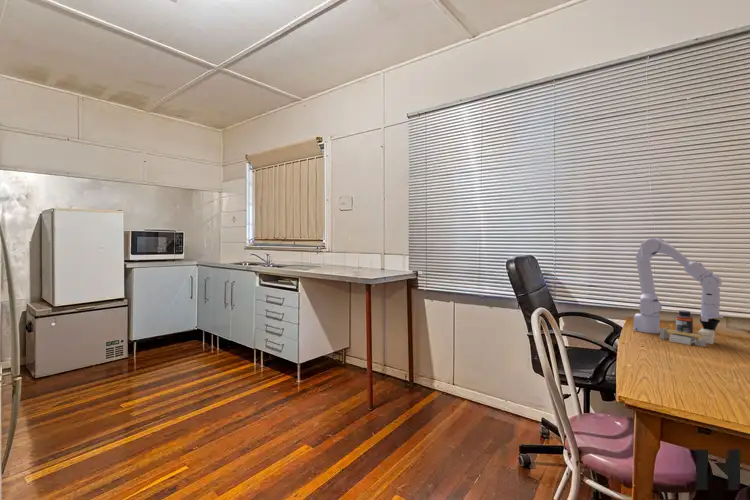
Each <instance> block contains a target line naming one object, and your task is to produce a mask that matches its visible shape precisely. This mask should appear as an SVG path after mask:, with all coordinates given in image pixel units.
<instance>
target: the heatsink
mask: <svg viewBox="0 0 750 500" xmlns="http://www.w3.org/2000/svg"><path fill="white" fill-rule="evenodd" d="M696 338H697V337H692V336H686V335H680V334H674V333H669V337H668V339H669V342H671V343H676V344H682V345H687V346H691V345H695V340H697V339H696Z"/></svg>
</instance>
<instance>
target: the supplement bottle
mask: <svg viewBox="0 0 750 500" xmlns="http://www.w3.org/2000/svg"><path fill="white" fill-rule="evenodd" d="M675 331H681V332H687V333H693V331H694V318H693V316H692V315H691V311H689V310H683V309H681V310H680V309H679V311H678V314H677V315H676V317H675ZM693 334H694V333H693Z"/></svg>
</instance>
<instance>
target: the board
mask: <svg viewBox="0 0 750 500" xmlns="http://www.w3.org/2000/svg"><path fill="white" fill-rule="evenodd" d="M665 329H669V327H666V326H663V327H662V328H661V327H659V339H660V340H666V339H669V332H665ZM669 330H670V329H669ZM694 346H697V347H703V348H704V347H707V343H706V341H701V340H699V339H696V340H695V343H694Z"/></svg>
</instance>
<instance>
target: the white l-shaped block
mask: <svg viewBox="0 0 750 500" xmlns="http://www.w3.org/2000/svg"><path fill="white" fill-rule="evenodd" d="M697 334H699V335H704V337H703V338H699V339H698V340H701V341H706V344H708V345H713V344H715V332H714V330H710V329H704V328H703V327H701V328H700V329H699V330H698V331H697Z"/></svg>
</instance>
